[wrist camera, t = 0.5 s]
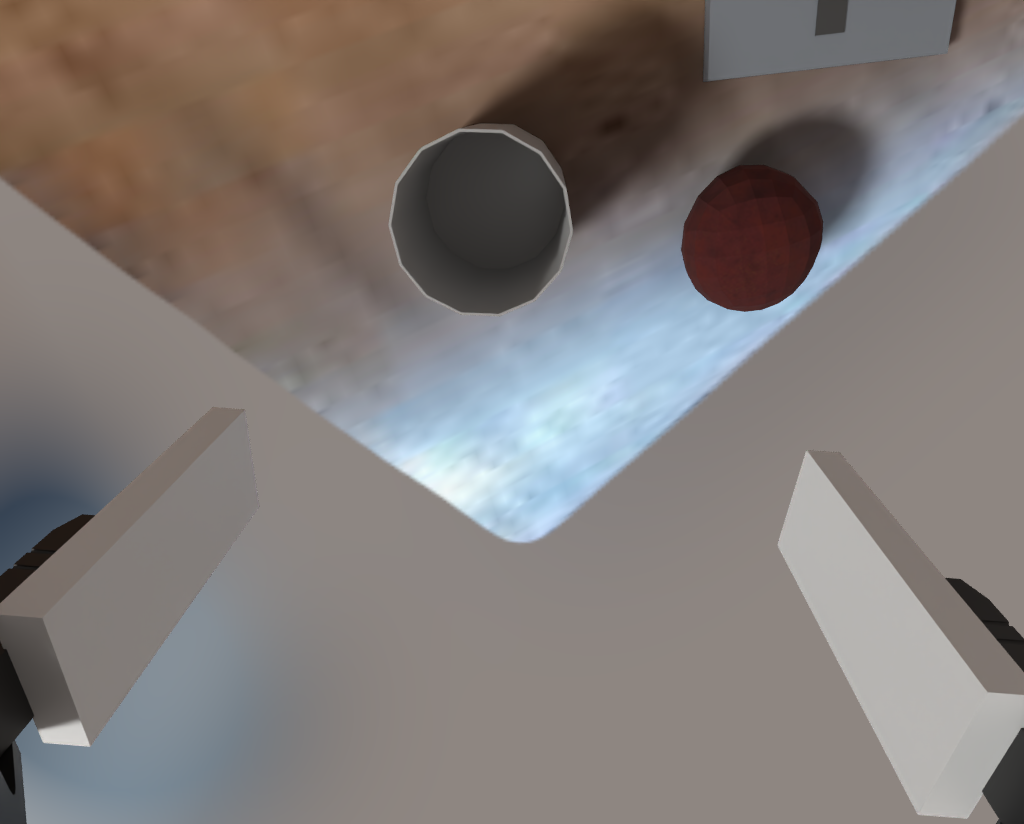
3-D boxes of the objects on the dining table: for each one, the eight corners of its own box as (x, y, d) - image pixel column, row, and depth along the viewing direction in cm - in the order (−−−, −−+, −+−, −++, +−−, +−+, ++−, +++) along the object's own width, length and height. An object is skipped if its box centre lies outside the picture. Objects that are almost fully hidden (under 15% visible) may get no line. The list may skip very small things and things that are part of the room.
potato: (680, 303, 40) (705, 340, 33) (662, 176, 37) (686, 191, 30) (800, 276, 39) (850, 309, 32) (792, 143, 35) (846, 151, 29)
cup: (571, 125, 36) (579, 132, 27) (562, 270, 39) (567, 318, 30) (423, 121, 36) (382, 126, 27) (428, 265, 40) (393, 311, 31)
